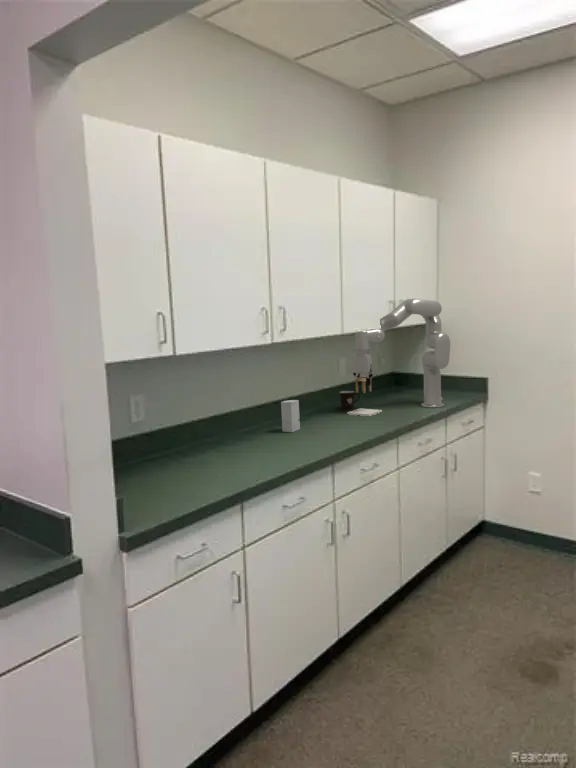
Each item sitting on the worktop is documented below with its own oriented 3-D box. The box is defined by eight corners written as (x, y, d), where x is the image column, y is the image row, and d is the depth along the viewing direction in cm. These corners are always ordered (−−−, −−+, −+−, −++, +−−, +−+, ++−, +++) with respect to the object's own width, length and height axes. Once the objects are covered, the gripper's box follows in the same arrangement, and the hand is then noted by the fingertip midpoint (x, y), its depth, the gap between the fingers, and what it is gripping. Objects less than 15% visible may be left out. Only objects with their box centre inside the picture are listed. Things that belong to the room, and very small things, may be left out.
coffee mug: (339, 410, 338) (339, 393, 336) (340, 407, 346) (339, 391, 345) (360, 410, 336) (359, 392, 335) (360, 407, 345) (359, 390, 343)
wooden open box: (355, 392, 322) (355, 378, 321) (363, 390, 328) (362, 376, 327) (364, 393, 318) (364, 378, 317) (371, 391, 325) (371, 376, 324)
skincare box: (292, 432, 284) (291, 402, 282) (281, 431, 287) (280, 401, 285) (300, 429, 291) (299, 399, 289) (290, 428, 294) (288, 399, 292)
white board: (360, 410, 335) (360, 408, 334) (382, 412, 326) (382, 410, 326) (347, 414, 324) (347, 412, 324) (369, 416, 315) (369, 414, 315)
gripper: (345, 352, 323) (346, 385, 325) (373, 353, 312) (373, 386, 315) (352, 351, 329) (353, 383, 331) (380, 351, 318) (380, 385, 321)
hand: (363, 384), depth 323 cm, fingers closed on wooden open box, 5 cm apart
